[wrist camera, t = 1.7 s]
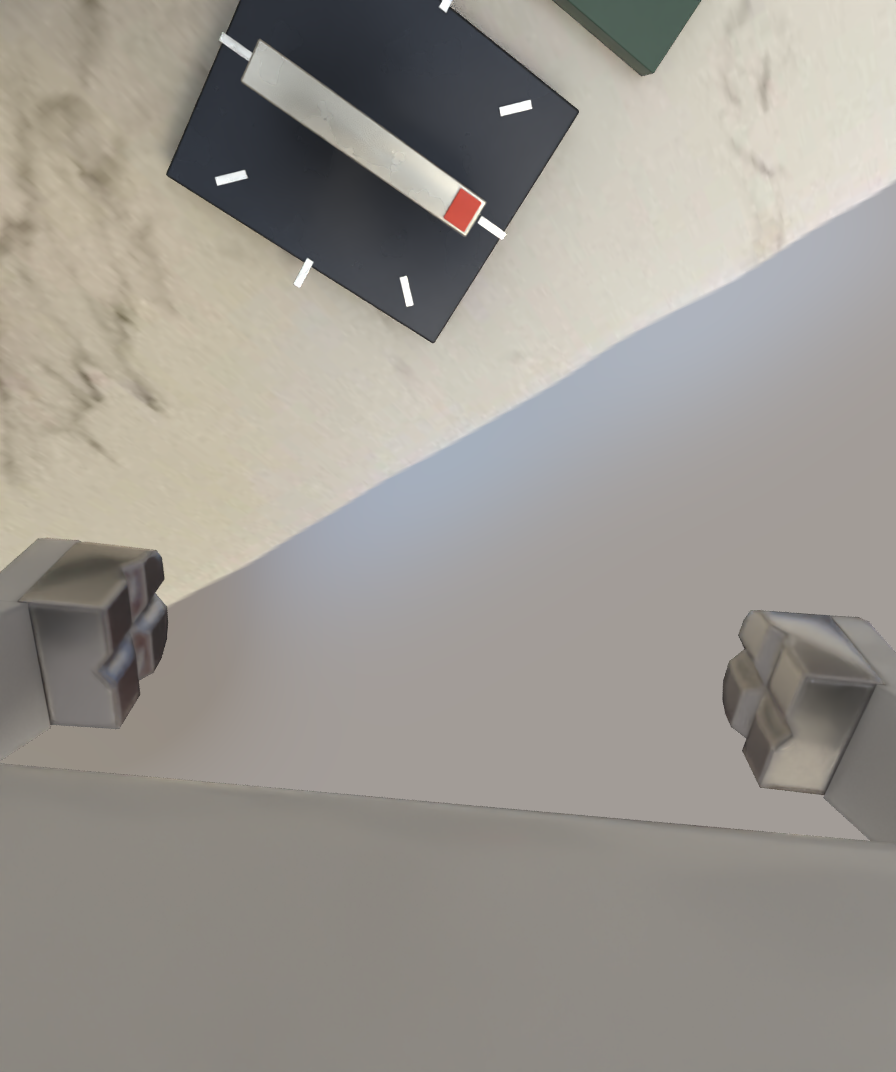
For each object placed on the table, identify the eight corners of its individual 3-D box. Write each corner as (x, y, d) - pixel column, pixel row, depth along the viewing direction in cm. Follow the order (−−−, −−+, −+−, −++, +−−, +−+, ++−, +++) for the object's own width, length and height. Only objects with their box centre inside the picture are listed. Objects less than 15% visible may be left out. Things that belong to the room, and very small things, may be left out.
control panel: (168, 193, 35) (152, 197, 32) (309, -135, 30) (301, -158, 27) (422, 351, 39) (423, 364, 37) (584, 91, 34) (598, 87, 32)
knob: (259, 88, 31) (238, 80, 27) (276, 50, 30) (258, 36, 26) (457, 226, 34) (465, 238, 30) (476, 194, 33) (488, 202, 29)
